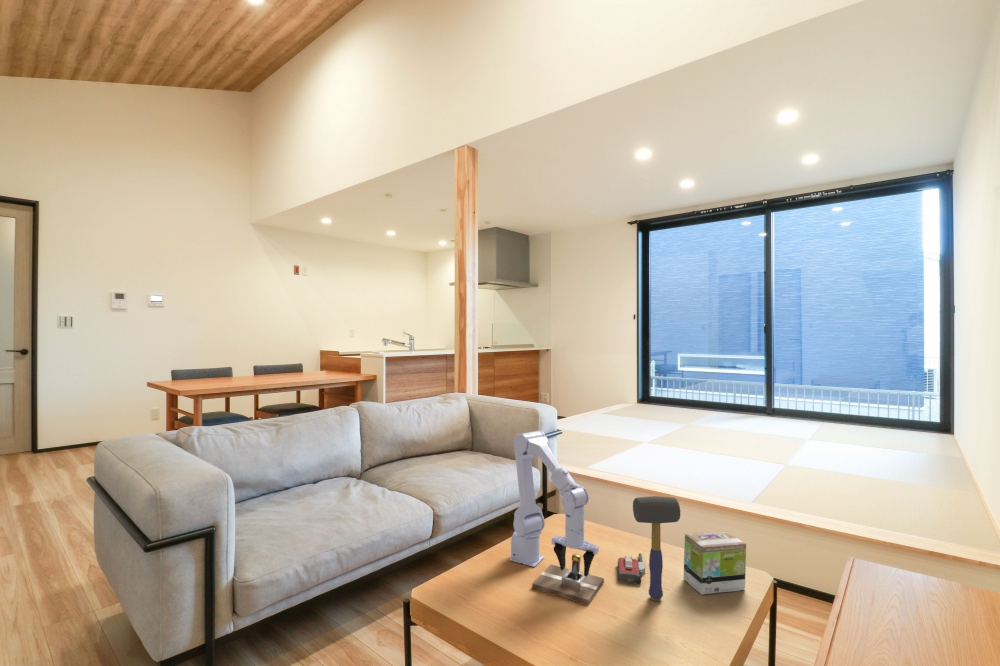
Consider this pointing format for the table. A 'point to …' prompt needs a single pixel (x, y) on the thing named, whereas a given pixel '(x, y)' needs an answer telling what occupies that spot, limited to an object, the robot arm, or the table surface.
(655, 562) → the rubber mallet
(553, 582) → the board
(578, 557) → the gold-capped cylinder
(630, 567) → the walkie-talkie
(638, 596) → the table surface
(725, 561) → the tea box
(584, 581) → the pilot socket
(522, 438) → the robot arm
